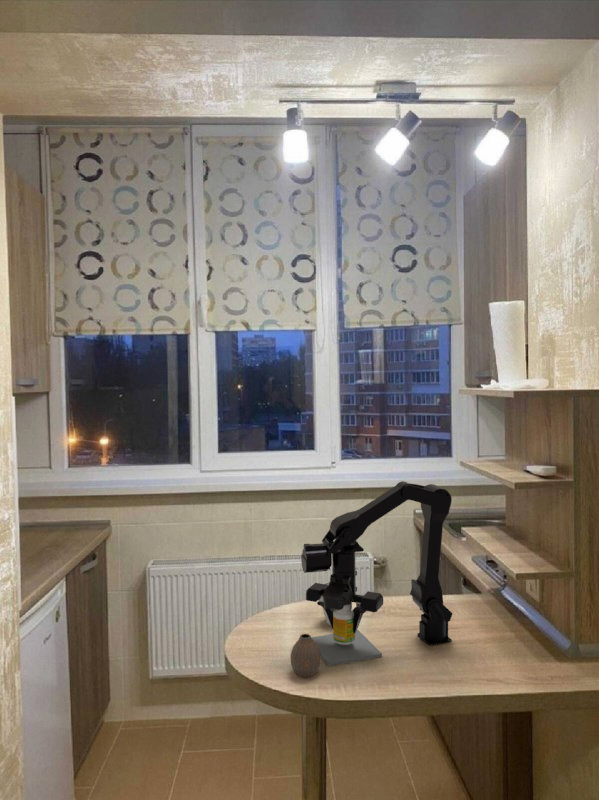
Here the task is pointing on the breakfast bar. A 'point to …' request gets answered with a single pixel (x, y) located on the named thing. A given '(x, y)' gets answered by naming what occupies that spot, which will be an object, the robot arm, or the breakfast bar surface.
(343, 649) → the slate mat
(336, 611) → the supplement bottle
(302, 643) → the vase
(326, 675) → the breakfast bar surface
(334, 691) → the breakfast bar surface
